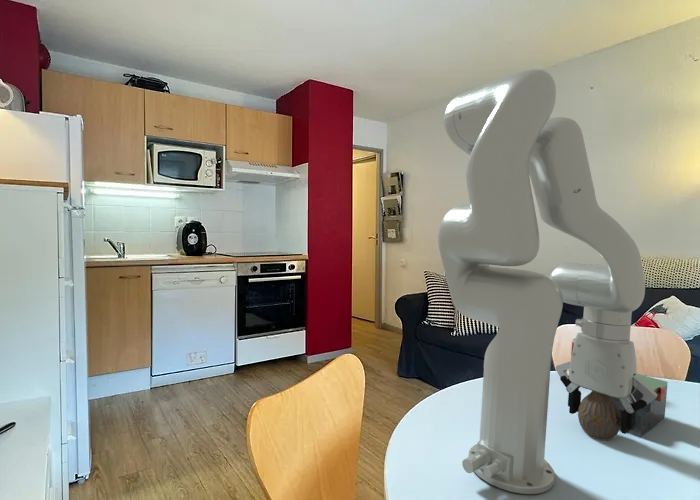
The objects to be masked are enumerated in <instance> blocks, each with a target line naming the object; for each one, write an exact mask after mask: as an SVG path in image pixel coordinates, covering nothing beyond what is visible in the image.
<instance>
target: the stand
mask: <svg viewBox="0 0 700 500" xmlns="http://www.w3.org/2000/svg"><path fill="white" fill-rule="evenodd" d="M637 377H638V378H639V379H640V380H641V381H642V382H644V383H645V384H646V385H647V386H648V387H650V388H651V389H652V390H653V391H654V392H656V393H657V397H656V398H655V399H654V400H653V401H652V402H650V403H649V404H648V405H647V406H645V407H644V408H642V409H639V410H637V411H636V416H635V427H634V429H633V430H630V431H629V432H627V433H628V434H629V435H632V436H636V437H638V438H642V437H644V435H646V434H647V433H648V432H649V431H651V430H653V429H654V428H655V427H656V426H658V425H659V424H660V423H661V422H662V421H664V420H665V417H666V405H667V393H668V383H669V382H668V381H665V380H662V379H659V378H654V377H650V376H646V375H643V374H639V373H637ZM632 395H633V397H634V398H635V400H636V401H638V400H640V399H641V398H642V397H643V394H642V393H641V392H640V391H639V390H638V389H637V388H636V391H635V393H634V394H632ZM611 398H612V399H613V400H614V402H615V403H616V405H617V406H618V408H619V411H620V414H621V418H622V411H624V410H625V407H624V406H623V404H622V402H621V401H620V399H618V398H614V397H611ZM619 431H621V427H620V430H619ZM627 433H626V434H627Z"/></svg>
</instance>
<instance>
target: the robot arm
mask: <svg viewBox="0 0 700 500" xmlns="http://www.w3.org/2000/svg"><path fill="white" fill-rule="evenodd" d="M556 97H557V89H556V84H555V80H554V78H553V76H552V75H551V74H550V73H549V72H547V70H543V69H535V68H532V69H527V70H523V71H519V72H516V73H511V74H509V75H507V76H503V77H501V78H499V79H496V80H493V81H490V82H489V83H486V84H483V85H480V86H478V87H475V88H472V89H470V90H468V91H467V90H466V91H465V92H463V93H460V94H458V95H456V96H455V97H454V98H453V99H451V101H450V102H449V104H448V105H446V109H445V110H444V115H443V124H444V130H445V132H446V134H447V136H448V137H449V139H450V140H451V142H452V143H453V144H454V145H456V146H457V147H458V148H459V149H460V150H462V151H463V152H465V153H466V154H468V155H469V158H468V161H467V165H466V171H465V180H466V187H467V188H466V189H467V193H468V199H469V200H468V201H469V203H468V204H461V205H458V206H454V207H453V208H451V209H450V210H448V211H447V212H446V213H445V214H444V216H443V217H442V220H441V221H440V224H439V229H438V235H437V236H438V237H437V238H438V239H437V241H438V243H437V244H438V249H439V254H440V258H441V259H440V260H441V262H442V266H443V271H444V274H445V278H446V283H447V287H448V291H449V294H450V297H451V301H452V304H453V305H454V307H455V309H456V310H457V311H458V313H459V314H461V315H462V316H464V317H466V318H468V319H471V320H474V321H477V322H481V323H485V324H489V325H492V326H494V327H497V328H498V331H497V333H496V335H495V336H494V338H493V339H492V340H491V342H489V344H488V346H487V347H486V350H485V353H484V357H483V358H484V360H483V379H482V391H481V392H482V396H481V409H480V410H481V411H480V428H479V441H477V444H475V445H473V446H471V447H470V449H469V450H468V457H466V458H465V459H463V460H462V463H461V465H462V468H463V470H464V471H465V472H466V473H468V474H472V473H474V474H476V475H477V476H478V477H479V478H480V479H482V480H483V481H484V482H486V483H488V484H490V485H492V486H494V487H496V488H499V489H500V490H504V491H507V492H510V493H511V492H512V493H514V494H523V495H537V494H542V493H544V492H548V491H549V490H551V488H552V487H553V485H554V482H555V471H554V468H553V467H552V466H551V464H550V463H549V462H548V461H547V460H546V459H545V456H546V455H545V453H546V452H545V451H546V439H547V437H546V436H547V425H548V424H547V422H548V410H549V396H550V395H549V394H550V383H551V382H550V381H551V378H550V377H551V368H552V367H551V366H552V354H553V349H554V343H555V338H556V334H557V333H556V332H557V330H558V326H559V322H560V320H561V316H562V311H563V307H564V303H565V304H569V305H573V306H580V307H583V317H581V318H576V319H575V323H574V324H575V326H577V327H579V328H580V329H581V331H580V332H577V334H576V335H575V336H576V337H575V338H576V339H575V342H574V347H573V351H572V350H571V351H572V356H571V355H570V361H568V362H564V363H561V364H558V365H556V366H555V370H556V372H557V374H558V376H559V377H560V378H559V380H560V381H561V383H562V384H563V385H564V387H565V390H566V392H567V393H568V394H567V395H568V396H567V397H568V398H567V407H568V409H569V410H568V411H569V412H568V413H569V414H571V415H574V414H576V413H578V409H579V405H580V403H581V401H582V392H581V390H580V388H583V389H585V390H589V391H591V392H592V391H595V392H598V393H601V394H604V395H607V396H610V397H614V398H618V399H620V401H621V402H622V404H623V406H624V407H625V410H624V411H622V418H621V430H620V432H621V434H624V435H627V432H629V431H630V430H633V429H634V427H635V416H636V411H637V410H639V409H642V408H644V407H645V406H647V405H648V404H649V403H650V402H652V401H653V400H654V399H655V398H656V397H657V393H656V392H654V391H653V390H652V389H651V388H650V387H648V386H647V385H646V384H645V383H644V382H642V381H641V380H640V379H639V378H638V377H637V374H638V372H637V370H638V369H637V355H636V348H635V344H634V341H631V329H632V314H633V312H634V311H635V310H637V309H639V308H640V306H641V305H642V303H643V302H644V298H645V294H646V280H645V275H644V274H645V273H644V269H643V268H644V267H643V264H642V257H641V253H640V251H639V248H638V246H637V244H636V242H635V241H634V239H633V238H632V236H631V234H629V233H628V231H626V229H625V228H624V227H623V226H622V225H621V224H620V223H619V222H618V221H617V220H616V219H614V218H613V217H612V216H611V215H610V214H609V213H607V212H606V211H605V210H604V209H602V208H601V207H600V206H599V204H598V201H597V196H596V191H595V187H594V181H593V177H592V172H591V169H590V168H591V167H590V163H589V159H588V154H587V153H588V152H587V149H586V144H585V141H584V136H583V135H584V134H583V131H582V129H581V127H580V125H579V123H578V122H576V120H574V119H573V118H570V117H565V116H564V117H563V116H562V117H561V116H560V117H559V116H558V117H551V115H552V114H553V111H554V108H555V104H556ZM531 185H532V186H531ZM532 187H533V188H532ZM532 189H533V191H532ZM533 193H534V197H535V199H536V204H537V207H538V212H539V216H540V218H541V220H542V222H543V223H545V224H547V226H549V227H552V228H554V229H556V230H558V231H559V232H561V233H565V234H566V235H568V236H571V237H573V238H574V239H577V240H579V241H581V242H582V243H585V244H586V245H588V246H589V247H591V248H592V249H593V250H595V251H596V252H597V253H598V254H599V255H600V256H601V258H602V259H603V260H604V261H605V264H603V263H601V264H599V263H598V264H588V263H587V264H586V263H577V262H568V263H567V262H566V263H563V264H560V265H558V266H556V267H555V268H554V269H552V271H551V272H550V274H549V277H548V276H547V275H545V274H542V273H539V272H537V271H531V270H525V269H516V268H509V267H519V266H524V265H527V264H529V263H531V262H532V261H533V260H534V259H535V258H536V257H537V255H538V253H539V251H540V250H539V249H540V232H539V224H538V219H537V214H536V212H537V211H536V206H535V202H534V197H533ZM499 266H500V267H499ZM507 267H508V268H507ZM636 388H637V389H638V390H639V391H640V392H641V393H642V394H643V397H642V398H641V399H640V400H638V401H636V400H635V398H634V397H633V395H632V394H634V393H635V391H636Z"/></svg>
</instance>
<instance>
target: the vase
mask: <svg viewBox="0 0 700 500" xmlns="http://www.w3.org/2000/svg"><path fill="white" fill-rule="evenodd" d="M577 418H578V423H579V425H580V427H581V429H582V430H583V431H584V433H585V434H586V435H588V437H590V438H593V439H596V440H599V441H609V440H611V439H613V438H615V437H616V436H617V435H618V433H619V432H620V431H621V430H620V427H621V414H620V411H619V408H618V406H617V405H616V403H615V402H614V400H613V399H612V398H611V397H610V396H607V395H604V394H601V393H598V392H595V391H592V390H591V392H589V393H588V394H587V395H586V396H585V397H583V398H582V399H581V403H580V405H579V409H578V412H577Z"/></svg>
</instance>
